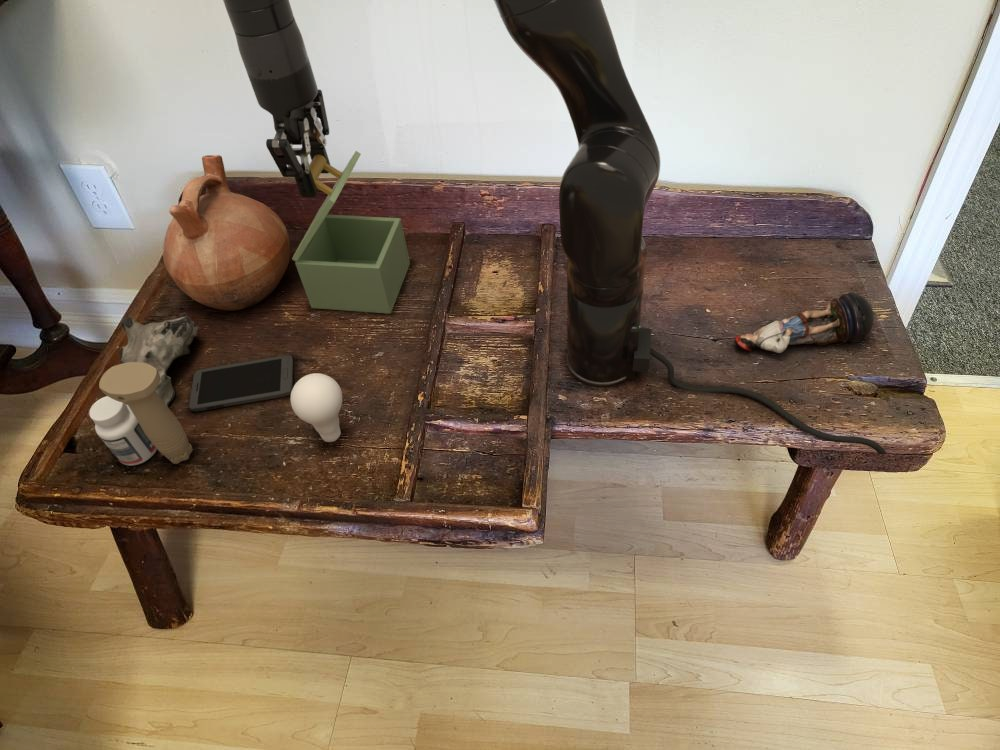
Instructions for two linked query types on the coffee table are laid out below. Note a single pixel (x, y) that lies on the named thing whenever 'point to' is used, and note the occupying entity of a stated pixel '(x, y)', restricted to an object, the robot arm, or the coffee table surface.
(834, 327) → the figurine
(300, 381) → the lightbulb
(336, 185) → the chest lid
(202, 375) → the cell phone
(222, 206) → the jug
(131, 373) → the handle
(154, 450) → the pill bottle
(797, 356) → the coffee table surface
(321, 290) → the chest
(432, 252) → the coffee table surface
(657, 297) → the coffee table surface
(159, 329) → the decorative stone
